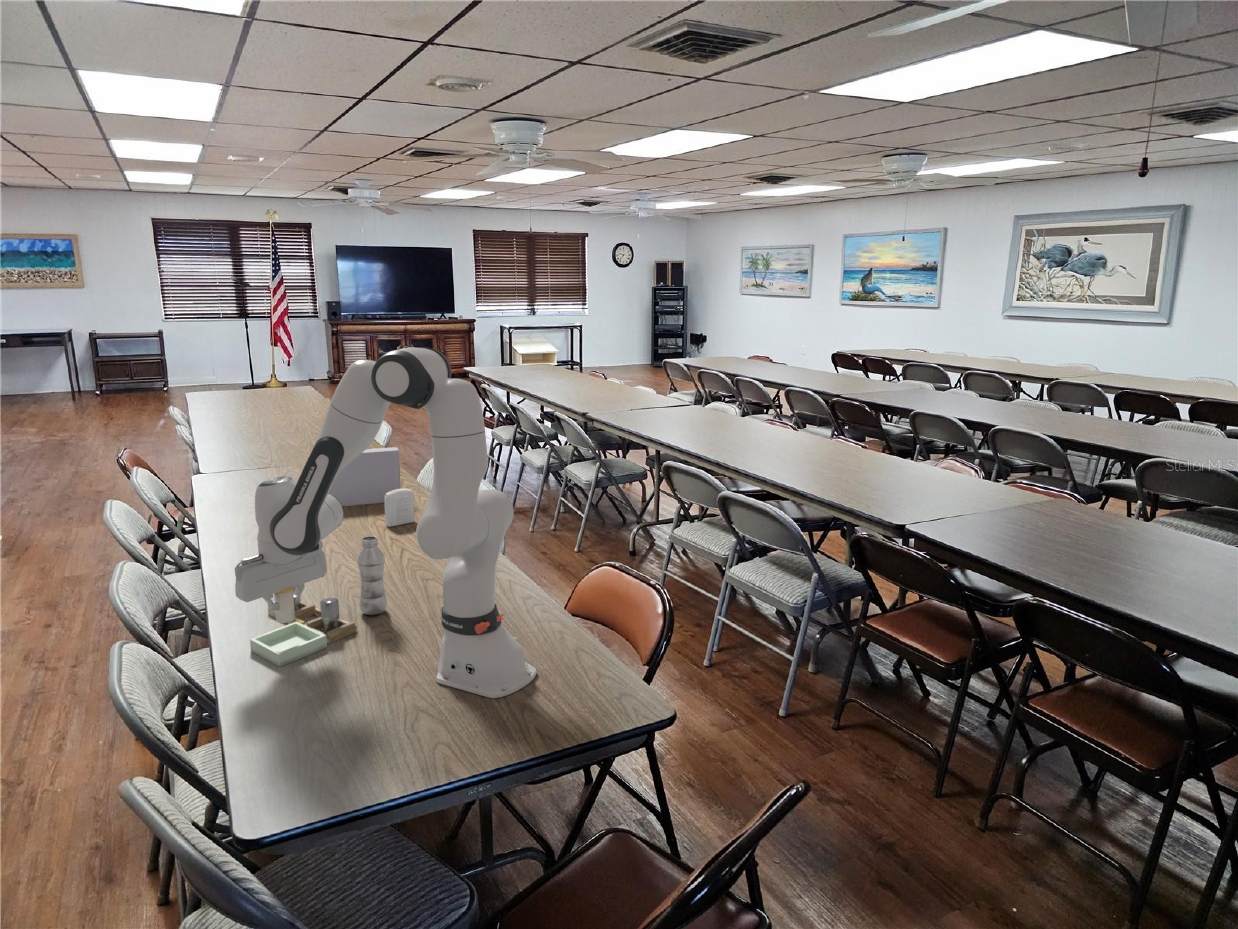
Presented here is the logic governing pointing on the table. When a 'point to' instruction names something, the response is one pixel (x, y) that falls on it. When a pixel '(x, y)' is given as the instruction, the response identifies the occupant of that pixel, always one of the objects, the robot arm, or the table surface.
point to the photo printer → (399, 507)
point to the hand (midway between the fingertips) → (284, 606)
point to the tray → (288, 643)
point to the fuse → (285, 605)
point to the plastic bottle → (371, 577)
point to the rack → (316, 624)
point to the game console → (368, 477)
